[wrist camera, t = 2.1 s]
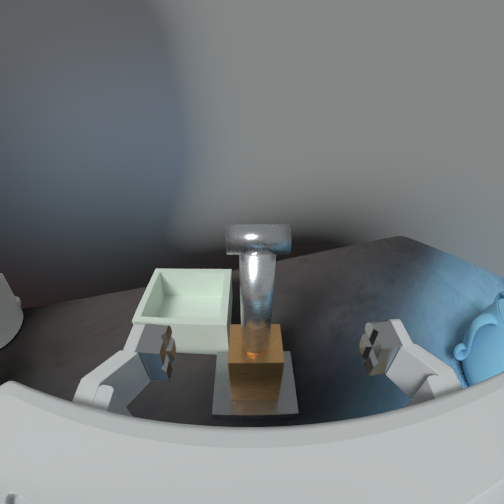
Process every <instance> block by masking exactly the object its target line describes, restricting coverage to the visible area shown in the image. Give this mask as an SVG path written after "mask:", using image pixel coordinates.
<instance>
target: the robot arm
mask: <svg viewBox="0 0 504 504" xmlns="http://www.w3.org/2000/svg"><path fill="white" fill-rule="evenodd" d="M20 306H21V300H20V298H19V297H15V296H14V294H13V293H12V291H11V289H10V287H9V286H8V284H7V282H6V280H5V278H4V276H3V275H2V274H1V273H0V348H2V347H4V346H5V345H6V344H8V343H9V342H10V341H11V340H12V339H13V338H14V336H15V335H16V334H17V332H18V331H19V329H20V327H21V325H22V322H23V312H22V310H21V307H20ZM365 331H366V333H365V334H364V335H362V337H361V340H360V352H361V355H362V357H363V358H365V359H366V363H365V367H366V369H367V372H368V375H369V376H373V375H381V374H386V375H387V376H388V377H389V378H390V379H391V380H392V381H393V382H394V383H395V384H396V385H397V386H398V387H399V388H400V389H401V390H402V391H403V392H404V393H405V394H406V395H407V396H408V397H409V398H411V400H410V401H409V403H408V404H407V405H406V407H405V408H401V409H397V410H393V411H389V412H384V413H380V414H375V415H370V416H365V417H359V418H353V419H347V420H341V421H333V422H326V423H317V424H307V425H295V426H278V427H218V426H201V425H189V424H179V423H170V422H163V421H156V420H149V419H143V418H137V417H133V416H132V415H131V414H130V412H129V411H128V409H127V408H126V406H127V405H128V404H129V403H130V402H131V401H132V400H133V399H134V398H135V397H136V396H137V395H138V394H139V393H140V392H141V391H142V389H143V388H144V387H145V386H146V385H147V384H148V383H149V382H150V381H151V380H158V381H170V377H171V373H172V366H171V363H172V362H173V361H174V360H175V355H176V345H175V340H174V339H173V338H172V337H171V335H172V329H171V326H169V325H158V324H145V323H135V324H134V325H133V328H132V330H131V332H130V335H129V337H128V340H127V342H126V345H125V347H124V350H123V351H121V350H120V351H119V352H117V353H116V354H115V355H113V356H112V357H110V358H109V359H108V360H106V361H105V362H104V363H102V364H101V365H100V366H98V367H97V368H96V369H94V370H93V371H92V372H90V373H89V374H88V375H86V376H85V377H84V378H82V379H81V381H80V384H79V386H78V389H77V391H76V393H75V396H74V398H73V401H72V402H70V401H67V400H64V399H61V398H58V397H55V396H52V395H49V394H46V393H44V392H41V391H38V390H35V389H33V388H30V387H28V386H25V385H23V384H21V383H18V382H15V381H8V382H6V383H4V384H2V385H1V386H0V504H504V371H503V372H501V373H499V374H497V375H494V376H492V377H490V378H488V379H486V380H483V381H481V382H479V383H476V384H474V385H471V386H469V387H466V388H464V389H463V388H462V386H461V384H460V382H459V380H458V378H457V376H456V374H455V372H454V370H453V369H452V368H451V367H449V366H448V365H446V364H445V363H443V362H442V361H440V360H439V359H438V358H436V357H435V356H433V355H432V354H430V353H429V352H427V351H426V350H424V349H423V348H421V347H420V346H418V345H417V344H413V343H412V341H411V339H410V337H409V335H408V333H407V331H406V330H405V328H404V326H403V324H402V322H401V321H400V320H399V319H392V320H384V321H375V322H368V323H367V324H366V326H365Z"/></svg>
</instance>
